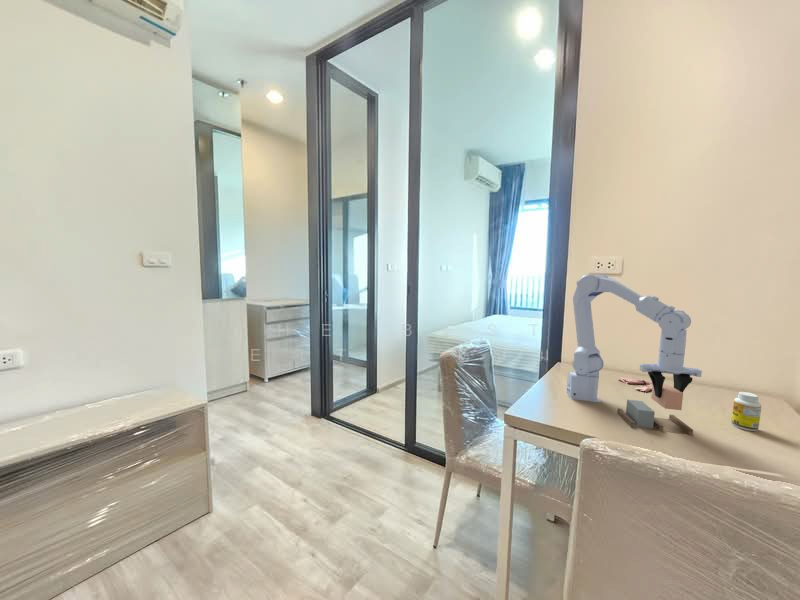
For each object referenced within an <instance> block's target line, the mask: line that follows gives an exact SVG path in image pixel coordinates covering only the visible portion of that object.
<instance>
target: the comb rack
mask: <svg viewBox="0 0 800 600" xmlns="http://www.w3.org/2000/svg"><path fill="white" fill-rule="evenodd" d="M616 413H617V414H618V416H619V417H620V418H621V419H622V420H623V421H624V423H626V424H627V425H628V426H629V427H630V428H633V429H639V430H641V429H642V430H648V431H656V432H665V433H673V434H679V435H680V434H681V435H687V436H694V429H693V428H691V427H690V426H689V425H687V424H686V423H685V422H683V421H682V420H681V419H680V418H678V416H675V415H674V414H671V413H670V414H669V417H668V418H665V417H664V418H663V417H656V416H654V425H653V429H652V428H644V427H637V426H636V425H635V422H634V421H633V420H632V419H631V418H630V417H629V416H628V415H627V414H626V411H624V410H623V408H617V411H616Z"/></svg>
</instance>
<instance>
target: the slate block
mask: <svg viewBox="0 0 800 600" xmlns="http://www.w3.org/2000/svg"><path fill="white" fill-rule="evenodd" d="M625 413H626V414H627V415H628V416H629V417H630V418H631V419H632V420H633V421H634V422H635V425H636V426H637V427H644V428H652V429H653V425H654V417H655V415H656V414H655V413H656V411H655V410H653V409H652V408H651V407H649V405H647V404H646V403H645V401H642V400H634V399H626V409H625Z"/></svg>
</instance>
